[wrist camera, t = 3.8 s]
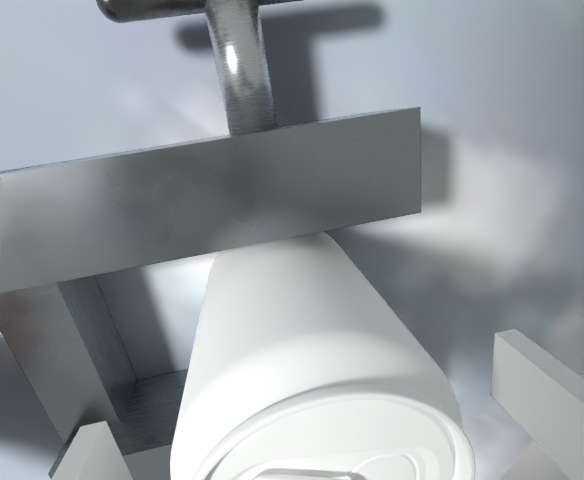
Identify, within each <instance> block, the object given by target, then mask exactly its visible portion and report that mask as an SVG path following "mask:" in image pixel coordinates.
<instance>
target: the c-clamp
mask: <svg viewBox="0 0 584 480" xmlns="http://www.w3.org/2000/svg"><path fill="white" fill-rule="evenodd" d="M294 1H302V0H96V2H97V5H98V7H99V9H100V11H101V12H102V13H103V15H104V16H106V17H107V18H108V19H110V20H111V21H113V22H117V23H126V22H134V21H142V20H150V19H158V18H166V17H174V16H182V15H190V14H198V13H205V15H206V20H207V25H208V30H209V35H210V40H211V45H212V49H213V54H214V59H215V64H216V69H217V74H218V79H219V84H220V88H221V93H222V98H223V103H224V108H225V113H226V118H227V123H228V127H229V132H230V135H226V136H220V137H214V138H207V139H201V140H195V141H189V142H182V143H176V144H170V145H164V146H157V147H151V148H145V149H139V150H132V151H126V152H120V153H114V154H107V155H101V156H95V157H89V158H82V159H76V160H70V161H64V162H57V163H51V164H45V165H39V166H32V167H26V168H20V169H14V170H8V171H1V172H0V331H1V333H2V334H3V336H4V338H5V340H6V341H7V343H8V345H9V347H10V349H11V350H12V352H13V354H14V356H15V358H16V359H17V361H18V363H19V365H20V367H21V368H22V370H23V372H24V374H25V376H26V377H27V379H28V381H29V383H30V385H31V386H32V388H33V390H34V392H35V394H36V395H37V397H38V399H39V401H40V403H41V404H42V406H43V408H44V410H45V411H46V413H47V415H48V417H49V419H50V420H51V422H52V424H53V426H54V428H55V429H56V431H57V433H58V435H59V437H60V438H61V440H62V442H63V444H64V446H63V448H62V450H61V452H60V454H59V455H58V457H57V459H56V461H55V463H54V464H53V466H52V468H51V470H50V472H49V474H48V475H49V476H50V478H51V479H52V477H53V475H54V474H55V472H56V470H57V468H58V466H59V465H60V463H61V461H62V459H63V457H64V456H65V454H66V452H67V450H68V448H69V446H70V445H71V443H72V441H73V439H74V437H75V436H76V434H77V432H78V430H79V428H80V427H81V426H85V425H89V424H94V423H98V422H103V421H106V422H107V424H108V426H109V429H110V431H111V433H112V435H113V437H114V439H115V442H116V444H117V446H118V448H119V450H120V452H121V455H122V457H123V459H124V461H125V463H126V465H127V468H128V470H129V472H130V474H131V476H132V478H133V480H171V475H170V458H171V449H172V444H173V439H174V434H175V429H176V425H177V420H178V415H179V411H180V406H181V401H182V397H183V392H184V387H185V383H186V378H187V373H188V369H187V370H182V371H178V372H173V373H169V374H164V375H160V376H156V377H151V378H147V379H142V380H138V381H137V378H136V376H135V373H134V371H133V368H132V366H131V363H130V361H129V358H128V356H127V354H126V351H125V349H124V346H123V344H122V341H121V339H120V336H119V334H118V331H117V329H116V326H115V324H114V321H113V319H112V316H111V314H110V312H109V309H108V307H107V304H106V302H105V299H104V297H103V294H102V292H101V289H100V287H99V284H98V282H97V279H96V277H95V275H98V274H103V273H108V272H113V271H118V270H124V269H129V268H134V267H139V266H145V265H150V264H155V263H160V262H165V261H171V260H176V259H181V258H186V257H191V256H197V255H202V254H207V253H212V252H217V251H223V250H228V249H233V248H238V247H244V246H249V245H254V244H259V243H264V242H270V241H275V240H280V239H285V238H290V237H296V236H301V235H306V234H311V233H316V232H322V231H327V230H332V229H337V228H343V227H348V226H353V225H358V224H363V223H369V222H374V221H379V220H384V219H389V218H395V217H400V216H405V215H410V214H415V213H421V136H420V107H416V108H407V109H398V110H388V111H379V112H370V113H363V114H357V115H351V116H345V117H338V118H332V119H326V120H320V121H313V122H307V123H301V124H295V125H289V126H282V127H277V121H276V114H275V108H274V102H273V95H272V89H271V82H270V76H269V69H268V63H267V56H266V50H265V43H264V37H263V31H262V24H261V18H260V11H259V6H262V5H270V4H278V3H286V2H294Z"/></svg>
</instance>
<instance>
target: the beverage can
mask: <svg viewBox="0 0 584 480" xmlns="http://www.w3.org/2000/svg"><path fill="white" fill-rule="evenodd" d="M475 469H476V467H475V458H474V453H473V449H472V446H471V444H470V442H469V439H468V437H467V436H466V434H465V432H464V431H463V429H462V420H461V413H460V409H459V405H458V401H457V398H456V396H455V393H454V391H453V389H452V386H451V384H450V383H449V381H448V379H447V377H446V376H445V374H444V373H443V371H442V370H441V369H440V368H439V366H438V365H437V364H436V363H435V361H434V360H433V359H432V358H431V357H430V355H429V354H428V353H427V352H426V350H425V349H424V348H423V347H422V346H421V344H420V343H419V342H418V341H417V340H416V338H415V337H414V336H413V335H412V333H411V332H410V331H409V330H408V329H407V327H406V326H405V325H404V324H403V323H402V321H401V320H400V319H399V318H398V317H397V315H396V314H395V313H394V312H393V310H392V309H391V308H390V307H389V306H388V304H387V303H386V302H385V301H384V300H383V298H382V297H381V296H380V295H379V293H378V292H377V291H376V290H375V289H374V287H373V286H372V285H371V284H370V283H369V281H368V280H367V279H366V278H365V277H364V275H363V274H362V273H361V272H360V270H359V269H358V268H357V267H356V266H355V264H354V263H353V262H352V261H351V260H350V258H349V257H348V256H347V255H346V254H345V252H344V251H343V250H342V249H341V247H340V246H339V245H338V244H337V243H336V242H335V241H334V240H333V239H332V238H331V237H330V236H329V235H328V234H327V233H325V232H324V231H322V232H316V233H311V234H306V235H301V236H296V237H290V238H285V239H280V240H275V241H270V242H264V243H259V244H254V245H249V246H244V247H238V248H233V249H228V250H223V251H220V252H219V253H218V255H217V256H216V258H215V260H214V262H213V264H212V266H211V269H210V272H209V276H208V280H207V285H206V290H205V294H204V299H203V304H202V308H201V313H200V318H199V322H198V327H197V332H196V336H195V341H194V345H193V350H192V355H191V359H190V364H189V369H188V373H187V378H186V383H185V387H184V392H183V397H182V401H181V406H180V411H179V415H178V420H177V425H176V429H175V434H174V439H173V444H172V449H171V458H170V475H171V480H475Z"/></svg>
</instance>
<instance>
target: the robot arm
mask: <svg viewBox="0 0 584 480" xmlns="http://www.w3.org/2000/svg"><path fill="white" fill-rule="evenodd" d="M491 395H492V396H493V398H494V399H495V400H496V401H497V402H498V403H499V404H500V405H501V406H502V407H503V408H504V409H505V410H506V411H507V413H508V414H509V415H510V416H511V417H512V418H513V419H514V420H515V421H516V422H517V423H518V424H519V425H520V426H521V428H522V429H523V430H524V431H525V432H526V433H527V434H528V435H529V436H530V437H531V438H532V439H533V440H534V441H535V442H536V444H537V445H538V446H539V447H540V448H541V449H542V450H543V451H544V452H545V453H546V454H547V455H548V456H549V457H550V459H552V461H553V462H554V463H555V464H556V465H557V466H558V467H559V468H560V469H561V470H562V471H563V472H564V474H565V475H566V476H567V477H568V478H569V479H570V480H584V378H583V377H582V376H580V375H579V374H577V373H576V372H575V371H573V370H572V369H571V368H569V367H568V366H566V365H565V364H564V363H562V362H561V361H560V360H558V359H557V358H555V357H554V356H553V355H551V354H550V353H549V352H547V351H546V350H545V349H543V348H542V347H540V346H539V345H538V344H536V343H535V342H534V341H532V340H531V339H529V338H528V337H527V336H525V335H524V334H523V333H521V332H520V331H518V330H517V329H516V328H515V329H510V330H506V331H502V332H497V333H495V341H494V354H493V367H492V380H491ZM51 480H133V478H132V476H131V474H130V472H129V470H128V468H127V465H126V463H125V461H124V459H123V457H122V455H121V452H120V450H119V448H118V446H117V444H116V442H115V439H114V437H113V435H112V433H111V431H110V429H109V426H108V424H107V422H106V421H103V422H98V423H94V424H89V425H85V426H81V427H80V428H79V430H78V432H77V434H76V436H75V437H74V439H73V441H72V443H71V445H70V446H69V448H68V450H67V452H66V454H65V456H64V457H63V459H62V461H61V463H60V465H59V466H58V468H57V470H56V472H55V474H54V475H53V477H52V479H51Z"/></svg>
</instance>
